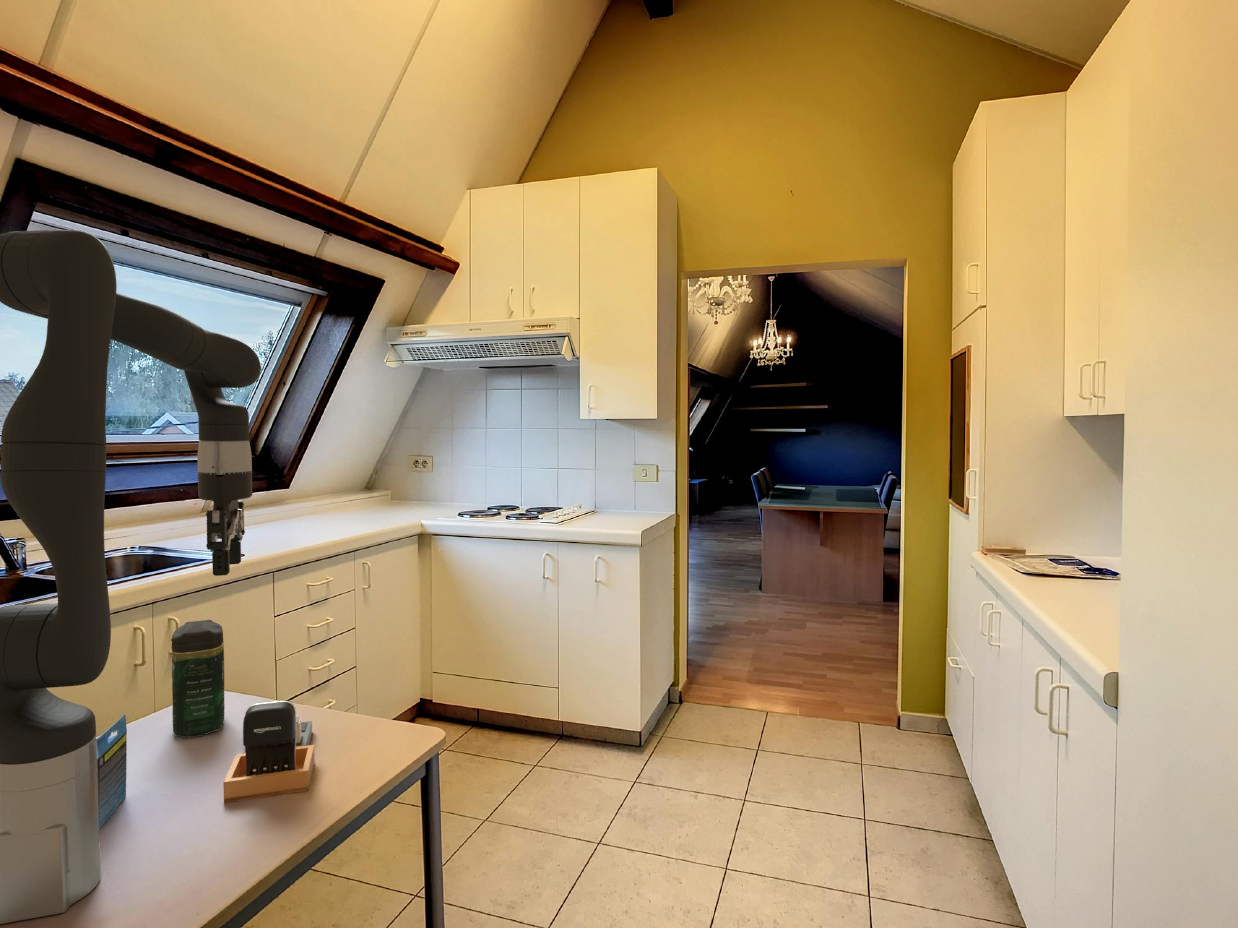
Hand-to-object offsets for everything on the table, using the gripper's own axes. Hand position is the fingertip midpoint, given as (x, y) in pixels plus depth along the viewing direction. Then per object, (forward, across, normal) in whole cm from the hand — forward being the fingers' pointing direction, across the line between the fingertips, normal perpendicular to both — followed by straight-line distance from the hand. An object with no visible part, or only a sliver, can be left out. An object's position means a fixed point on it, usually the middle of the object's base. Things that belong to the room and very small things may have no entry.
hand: (227, 569), depth 111 cm
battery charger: (+30, +13, +8) cm, 33 cm away
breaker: (+28, +4, +9) cm, 30 cm away
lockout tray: (+30, +12, +8) cm, 34 cm away
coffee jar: (+30, -12, -7) cm, 34 cm away
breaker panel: (+30, +2, +7) cm, 31 cm away
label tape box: (+30, +15, -13) cm, 36 cm away
